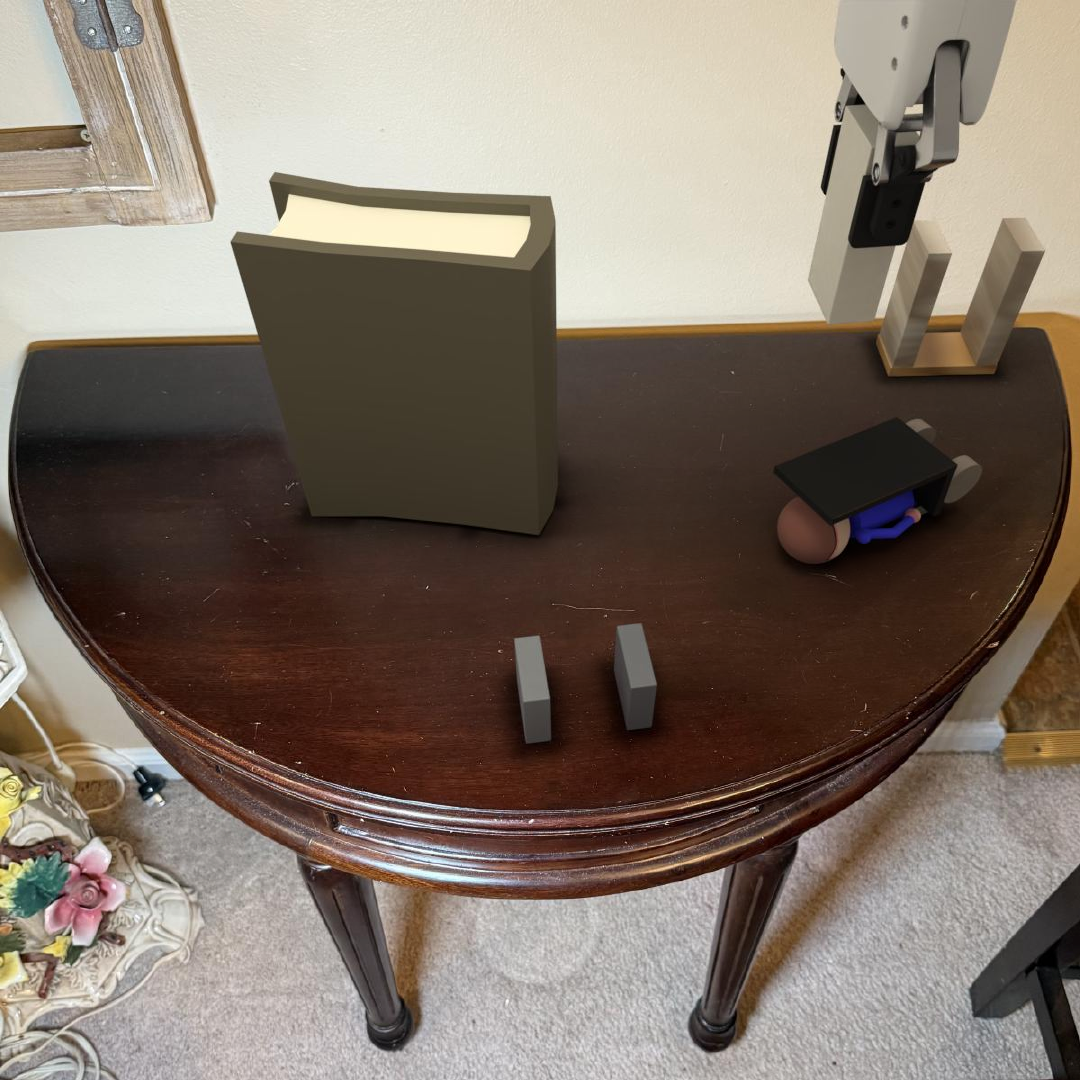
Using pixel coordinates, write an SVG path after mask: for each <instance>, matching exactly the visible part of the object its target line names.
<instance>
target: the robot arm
mask: <svg viewBox="0 0 1080 1080" xmlns="http://www.w3.org/2000/svg"><path fill="white" fill-rule="evenodd" d="M1016 4H1017V0H839V2H838V7H837V13H836V20H835V27H834V34H833V35H834V36H833V47H834V52H835V55H836V59H837V61H838V62H839V64H840V66H841V68H840V71H839V73H840V76H841V78H842V79H841V81H842V82H841V85H840V89H839V92H838V94H837V98H836V102H835V105H834V111H833V112H834V120H835V122H836V123H840V124H833V126H832V131H831V135H830V139H829V144H828V150H827V154H826V159H825V163H824V169H823V173H822V178H821V183H820V190H821V192H822V193H823V195H824V196H826V194H827V189H828V184H829V180H830V175H831V171H832V166H833V162H834V157H835V152H836V148H837V143H838V139H839V134H840V129H841V125H842V120H843V116H844V111H845V107H846V106H850V105H867V106H868V108H869V109H870V111H871V112H872V114H873V115H874V116H875V117H876V118H877V119H878V120H879V125H878V131H877V138H876V145H875V152H874V159H873V165H872V175H863V178H862V182H861V186H860V190H859V194H858V199H857V203H856V207H855V211H854V215H853V219H852V223H851V227H850V231H849V235H848V241H849V243H850V245H851V247H852V248H856V249H857V248H871V247H886V246H895V247H898V246H899V247H900V246H903V245H906V243H907V241H908V239H909V236H910V233H911V230H912V226H913V223H914V221H915V220H916V216H917V212H918V209H919V206H920V203H921V199H922V196H923V192H924V189H925V186H926V183H929V182H930V181H931V180H932V178H933V176H934V172H936V171H937V170H939V169H940V168H942V167H946V166H948V165H952V164H954V163H955V162H956V161H957V159H958V157H959V152H960V124H962V125H963V126H974V125H975V126H976V124H978V122H979V121H981V119H982V118H983V115H984V114H985V112H986V109H987V107H988V103H989V100H990V97H991V94H992V91H993V88H994V84H995V81H996V77H997V74H998V72H999V71H998V70H999V67H1000V64H1001V60H1002V57H1003V53H1004V50H1005V47H1006V46H1005V45H1006V43H1007V38H1008V35H1009V33H1010V32H1009V31H1010V27H1011V25H1012V20H1013V17H1014V12H1015V8H1016ZM916 105H922V112H921V113H920V112H919V113H906V110H907V108H913V107H914V106H916ZM900 132H919V141H918V142H916V143H915V144H914V145H908V146H903V147H902V148H901V149H900V150H898V151H897V152H896V153H895V154H894V148H895V142H896V136H897V133H900Z"/></svg>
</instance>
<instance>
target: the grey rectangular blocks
mask: <svg viewBox="0 0 1080 1080" xmlns="http://www.w3.org/2000/svg"><path fill="white" fill-rule="evenodd" d="M513 640H514V641H513V643H514V655H515V658H514V659H515V670H516V671H515V672H516V683H517V690H518V697H519V705H520V711H521V718H522V719H521V720H522V727H523V733H524V741H525V744H535V743H536V744H537V743H543V742H549V741H552V720H551V719H552V717H551V695H550V690H549V682H548V676H547V671H546V665H545V659H544V653H543V646H542V641H541V636H540V635H532V636H524V637H523V636H522V637H515V638H514V639H513ZM613 662H614V664H613V672H614V677H615V682H616V686H617V691H618V695H619V699H620V700H619V701H620V704H621V708H622V713H623V717H624V723H625V727H626V730H627V731H633V730H640V729H641V730H642V729H649V728H652V726H653V718H654V712H655V703H656V697H657V687H658V682H657V679H656V675H655V671H654V665H653V663H652V659H651V654H650V650H649V646H648V643H647V639H646V634H645V630H644V626H643V624H642V622H639V623H638V622H637V623H630V624H629V623H628V624H622V625H617V626H616V631H615V647H614V661H613Z"/></svg>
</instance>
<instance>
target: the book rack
mask: <svg viewBox="0 0 1080 1080" xmlns="http://www.w3.org/2000/svg"><path fill="white" fill-rule="evenodd" d="M1045 253H1046V249H1045V247H1044V246H1043V244H1042V242H1041V241H1040V239H1039V238H1038V236H1037V234H1036V233H1035V231H1034V230H1033V228H1032V226H1031V224H1030V222H1028V220H1027V218H1026V217H1003V218H1002V219H1001V221H1000V224H999V227H998V230H997V232H996V235H995V238H994V240H993V243H992V245H991V248H990V251H989V253H988V256H987V259H986V262H985V264H984V267H983V270H982V272H981V274H980V277H979V280H978V282H977V285H976V288H975V290H974V294H973V296H972V299H971V302H970V304H969V307H968V310H967V312H966V315H965V317H964V320H963V323H962V326H961V328H960V331H955V332H954V331H951V332H950V331H949V332H947V331H946V332H926V331H927V328H928V325H929V323H930V320H931V317H932V314H933V310H934V308H935V305H936V302H937V299H938V296H939V293H940V290H941V287H942V284H943V281H944V279H945V276H946V273H947V270H948V267H949V264H950V261H951V258H952V255H953V251H952V249H951V247H950V244H949V243H948V241H947V239H946V237H945V235H944V233H943V232H942V230H941V227H940V225H939V223H938V222H937V220H936V219H922V220H920V219H919V220H918V219H917V220H916V219H915V220H914V223H913V226H912V230H911V233H910V236H909V239H908V241H907V242H906V243H905V247H904V251H903V253H902V257H901V259H900V260H901V261H900V264H899V267H898V270H897V273H896V276H895V281H894V283H893V287H892V290H891V294H890V297H889V300H888V303H887V307H886V311H885V313H884V317H883V321H882V324H881V327H880V330H879V333H878V334H877V337H876V341H875V345H876V347H877V350H878V353H879V356H880V358H881V361H882V364H883V367H884V370H885V372H886V375H887V377H889V378H890V377H891V378H892V377H925V376H927V377H929V376H930V377H931V376H932V377H933V376H965V375H968V376H969V375H994V374H996V371H997V369H998V367H999V365H998V363H999V361H1000V359H1001V356H1002V354H1003V352H1004V349H1005V348H1006V344H1007V343H1008V340H1009V337H1010V335H1011V333H1012V330H1013V328H1014V326H1015V325H1016V322H1017V319H1018V316H1019V314H1020V312H1021V310H1022V307H1023V306H1024V305H1023V304H1024V302H1025V300H1026V298H1027V295H1028V293H1029V290H1030V288H1031V286H1032V283H1033V281H1034V279H1035V276H1036V274H1037V271H1038V269H1039V267H1040V265H1041V262H1042V260H1043V258H1044V255H1045Z"/></svg>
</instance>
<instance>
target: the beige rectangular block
mask: <svg viewBox="0 0 1080 1080" xmlns="http://www.w3.org/2000/svg"><path fill="white" fill-rule="evenodd" d="M841 124H842V125H841ZM841 124H840V125H841V129H840V134H839V139H838V143H837V148H836V152H835V157H834V162H833V166H832V171H831V175H830V180H829V184H828V189H827V194H826V195H825V199H824V203H823V208H822V213H821V217H820V222H819V226H818V231H817V235H816V239H815V240H816V241H815V245H814V248H813V254H812V258H811V262H810V266H809V267H810V268H809V272H808V277H807V282H808V285H809V286H810V288H811V291H812V293H813V296H814V298H815V299H816V301H817V304H818V306H819V308H820V311H821V313H822V315H823V317H824V319H825V321H826V324H827V325H828V326H832V325H833V326H834V325H845V324H860V323H861V324H862V323H873V322H875V319H876V315H877V312H878V308H879V306H880V302H881V298H882V296H883V295H882V294H883V291H884V288H885V284H886V281H887V277H888V274H889V271H890V266H891V263H892V260H893V257H894V254H895V251H896V246H886V247H871V248H857V249H856V248H852V247H851V245H850V243H849V241H848V235H849V231H850V227H851V223H852V219H853V215H854V211H855V207H856V203H857V199H858V194H859V190H860V186H861V182H862V178H863V175H872V165H873V159H874V152H875V145H876V138H877V131H878V125H879V120H878V119H877V118H876V117H875V116H874V115H873V114H872V112H871V111H870V109H869V108H868V106H867V105H850V106H846V107H845V111H844V116H843V120H842V122H841ZM919 136H920V134H919V133H918V131H916V132H900V133H897V136H896V142H895V148H894V154H895V153H896V152H897V151H898V150H900V149H901V148H902V147H903V146H908V145H914V144H915V143H916V142H918V141H919Z"/></svg>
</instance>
